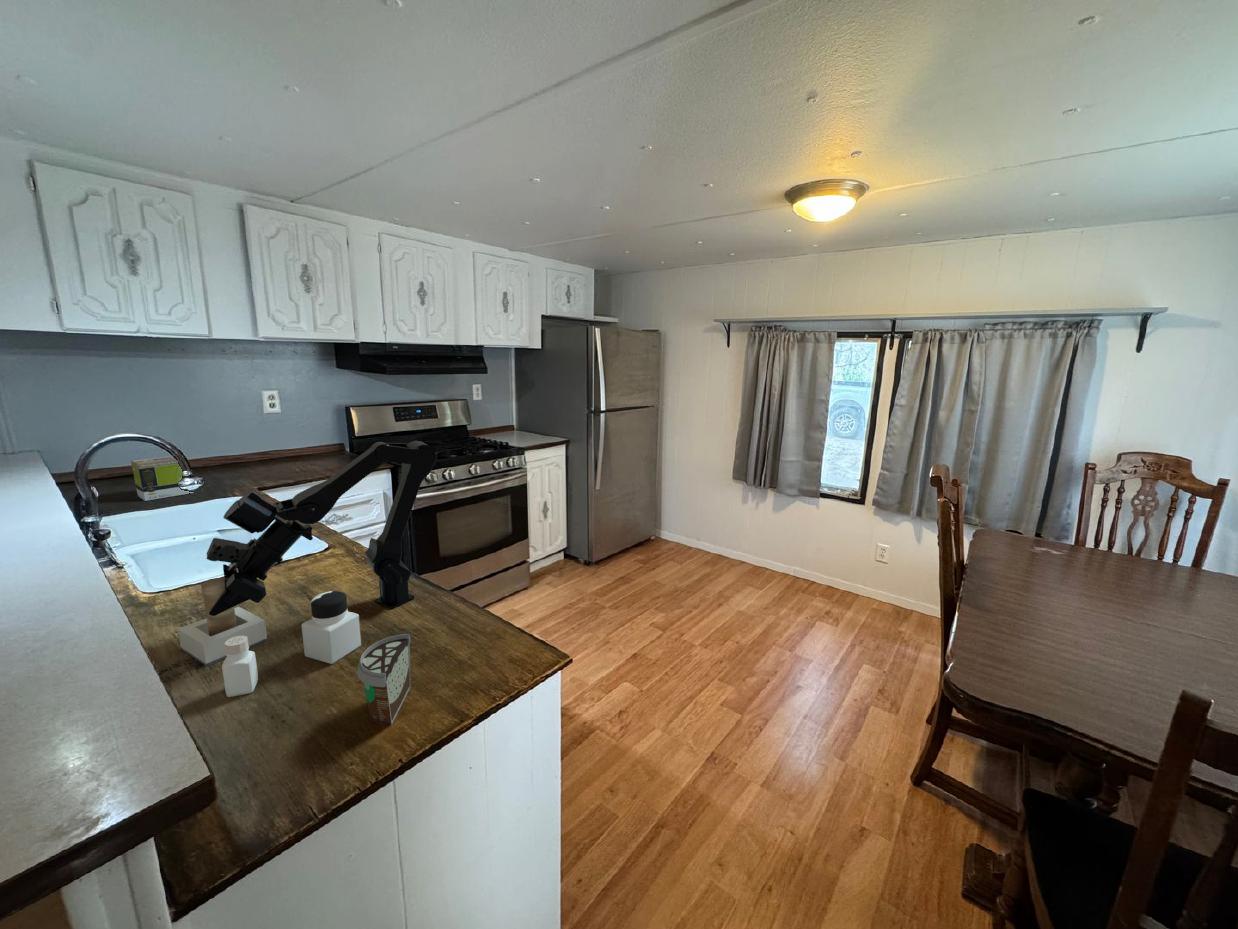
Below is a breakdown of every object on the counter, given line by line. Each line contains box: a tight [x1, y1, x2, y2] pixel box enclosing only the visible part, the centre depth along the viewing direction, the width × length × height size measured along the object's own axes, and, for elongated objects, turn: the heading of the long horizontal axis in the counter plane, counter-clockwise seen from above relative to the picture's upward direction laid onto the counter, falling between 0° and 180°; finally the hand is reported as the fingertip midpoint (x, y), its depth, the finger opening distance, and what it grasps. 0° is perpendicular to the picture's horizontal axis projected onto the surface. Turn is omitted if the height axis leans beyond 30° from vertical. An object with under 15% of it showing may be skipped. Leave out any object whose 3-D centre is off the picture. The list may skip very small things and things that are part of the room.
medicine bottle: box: [301, 590, 362, 665], centre depth 98 cm, size 7×7×12 cm
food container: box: [356, 633, 412, 726], centre depth 83 cm, size 12×6×10 cm, turn 5°
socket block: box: [177, 606, 268, 667], centre depth 99 cm, size 10×10×4 cm
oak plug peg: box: [200, 577, 237, 636], centre depth 98 cm, size 4×4×12 cm
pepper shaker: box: [221, 636, 259, 698], centre depth 86 cm, size 4×4×10 cm
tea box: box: [130, 455, 194, 502], centre depth 195 cm, size 15×10×15 cm, turn 144°
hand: (210, 610), depth 97 cm, fingers closed on oak plug peg, 4 cm apart
